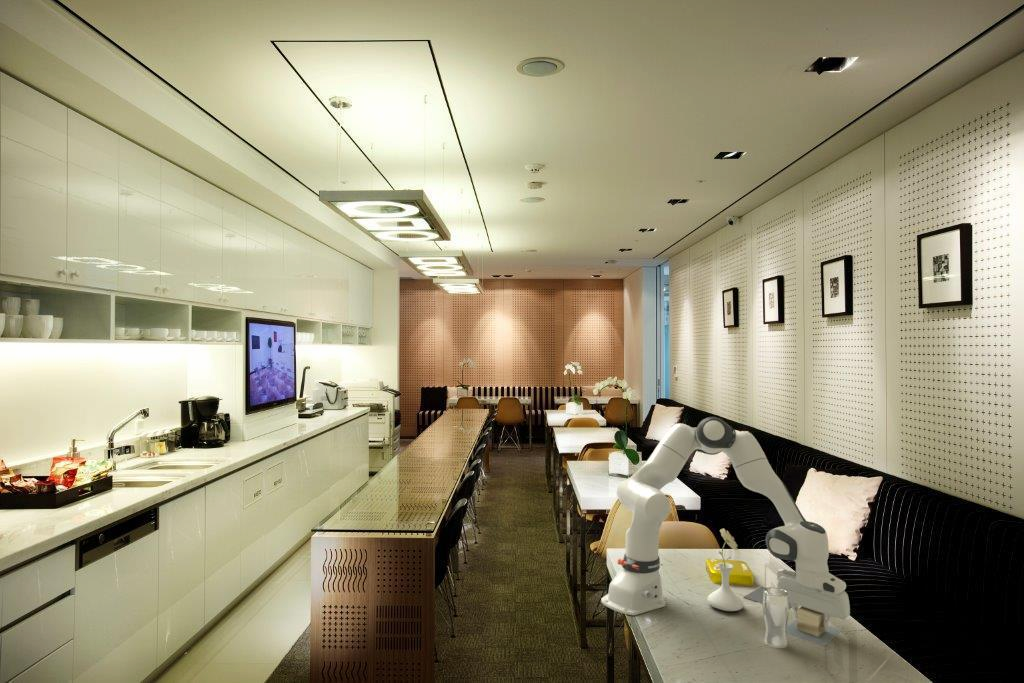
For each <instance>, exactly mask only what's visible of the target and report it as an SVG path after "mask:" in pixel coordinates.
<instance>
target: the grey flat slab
mask: <svg viewBox="0 0 1024 683" xmlns="http://www.w3.org/2000/svg"><path fill="white" fill-rule="evenodd" d="M841 632H842V630H841V629H838V628H835V627H832V626H829V625H828V628H827V629H826V631H825V632H824V633H822V634H821V635H820V636H819V637H817V636H814V635H811V634H808V633H806V632H803V631H800V630H797V619H796V620H794V621H793V622H791V623H790V624H789V625H787V626H786V634H787V633H788V634H790V635H793V636H796V637H799V638H801V639H804V640H806V641H810V642H812V643H815V644H818V645H820V646H822V647H825V646H826V645H827V644H829V643H830V642H831V641H832V640H833V639H834V638H835V637H836V636H838V635H839V634H840V633H841Z"/></svg>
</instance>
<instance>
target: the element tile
mask: <svg viewBox="0 0 1024 683" xmlns="http://www.w3.org/2000/svg"><path fill="white" fill-rule="evenodd" d="M724 560H725V559H724ZM724 562H725V563H729V564H731V565H733V566H734V567H733V568H732V570H731V572H730V576H729V585H730V584H733V585H732V586H734V585H735V586H745V587H752V586H754V573H753V572H752V570H751V568H750V567H749V565H748V564H747V562H746V561H743V560H736V559H735V560H734V559H733V560H731V559H728V560H725V561H724ZM724 562H723V558H721V559H720V558H707V559H705V571H706V573H708V574H707V576H708V575H709V576H708V578H709V581H710V582H711V581H712V582H711V583H713V582H714V583H713V584H718V583H722V574H721V570H720V568H719V566H718V563H724Z"/></svg>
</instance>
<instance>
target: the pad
mask: <svg viewBox="0 0 1024 683" xmlns="http://www.w3.org/2000/svg"><path fill="white" fill-rule="evenodd" d="M765 588H767V587H765V586H763V585H762V586H760V587H758V588H756V589H755V590H753V591H751V592H749V593H748V594H745V595H744V596H743V599H746V600H748V601H752V602H755V603H760V604H762V605H763V594H764V589H765ZM791 608H792V603H790V602H789V609H791Z"/></svg>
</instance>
